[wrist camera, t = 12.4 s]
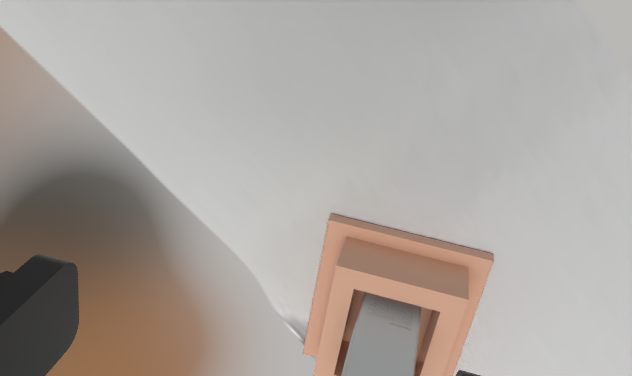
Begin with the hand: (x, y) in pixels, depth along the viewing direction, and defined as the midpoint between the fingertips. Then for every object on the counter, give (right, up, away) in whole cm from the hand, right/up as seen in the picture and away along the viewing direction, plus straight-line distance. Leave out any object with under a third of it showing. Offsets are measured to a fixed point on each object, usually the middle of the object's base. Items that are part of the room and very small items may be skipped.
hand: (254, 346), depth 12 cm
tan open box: (+7, -6, +35) cm, 36 cm away
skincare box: (+7, -6, +34) cm, 35 cm away
